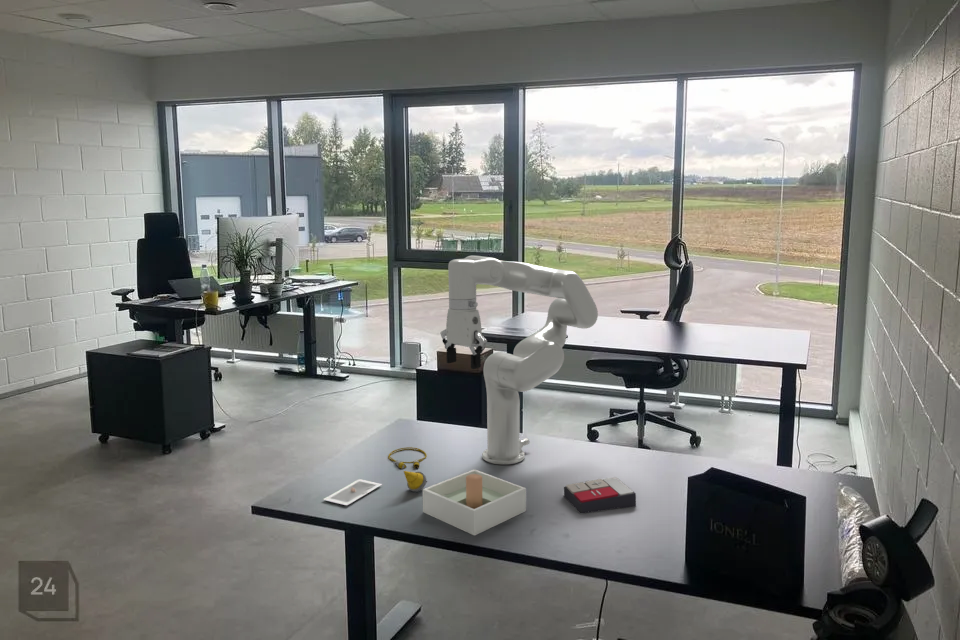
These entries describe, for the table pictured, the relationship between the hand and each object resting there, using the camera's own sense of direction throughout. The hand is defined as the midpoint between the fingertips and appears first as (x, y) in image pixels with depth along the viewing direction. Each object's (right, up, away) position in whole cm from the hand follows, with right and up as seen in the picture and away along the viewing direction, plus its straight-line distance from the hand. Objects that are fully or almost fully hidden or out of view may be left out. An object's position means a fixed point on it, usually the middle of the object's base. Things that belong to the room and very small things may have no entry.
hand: (463, 365), depth 204 cm
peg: (+3, -35, -22) cm, 42 cm away
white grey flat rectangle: (-29, -34, -11) cm, 46 cm away
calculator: (+35, -34, -17) cm, 52 cm away
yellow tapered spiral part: (-12, -33, -10) cm, 37 cm away
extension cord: (-17, -29, +14) cm, 36 cm away
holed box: (+3, -35, -22) cm, 42 cm away
